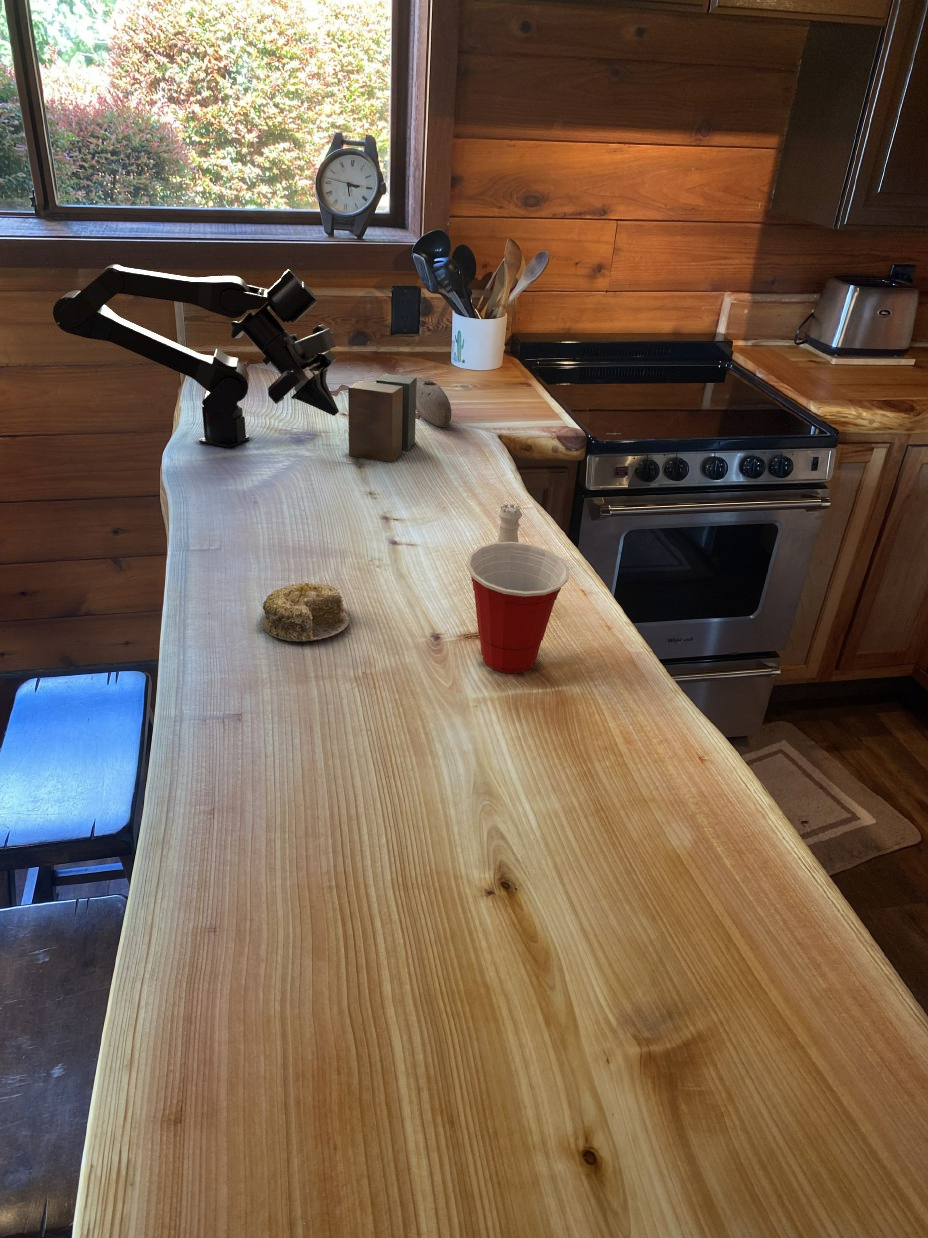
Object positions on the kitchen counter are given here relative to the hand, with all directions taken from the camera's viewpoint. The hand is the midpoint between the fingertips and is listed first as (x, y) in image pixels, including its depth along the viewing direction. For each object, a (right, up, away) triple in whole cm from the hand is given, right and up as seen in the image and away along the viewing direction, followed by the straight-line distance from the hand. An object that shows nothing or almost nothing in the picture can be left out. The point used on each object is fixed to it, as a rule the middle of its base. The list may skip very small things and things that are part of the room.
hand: (336, 413), depth 157 cm
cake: (+4, -36, -52) cm, 64 cm away
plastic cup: (+27, -41, -57) cm, 75 cm away
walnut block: (+7, -7, +2) cm, 10 cm away
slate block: (+10, -4, +7) cm, 13 cm away
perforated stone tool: (+16, +3, +21) cm, 27 cm away
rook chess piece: (+28, -28, -35) cm, 53 cm away
